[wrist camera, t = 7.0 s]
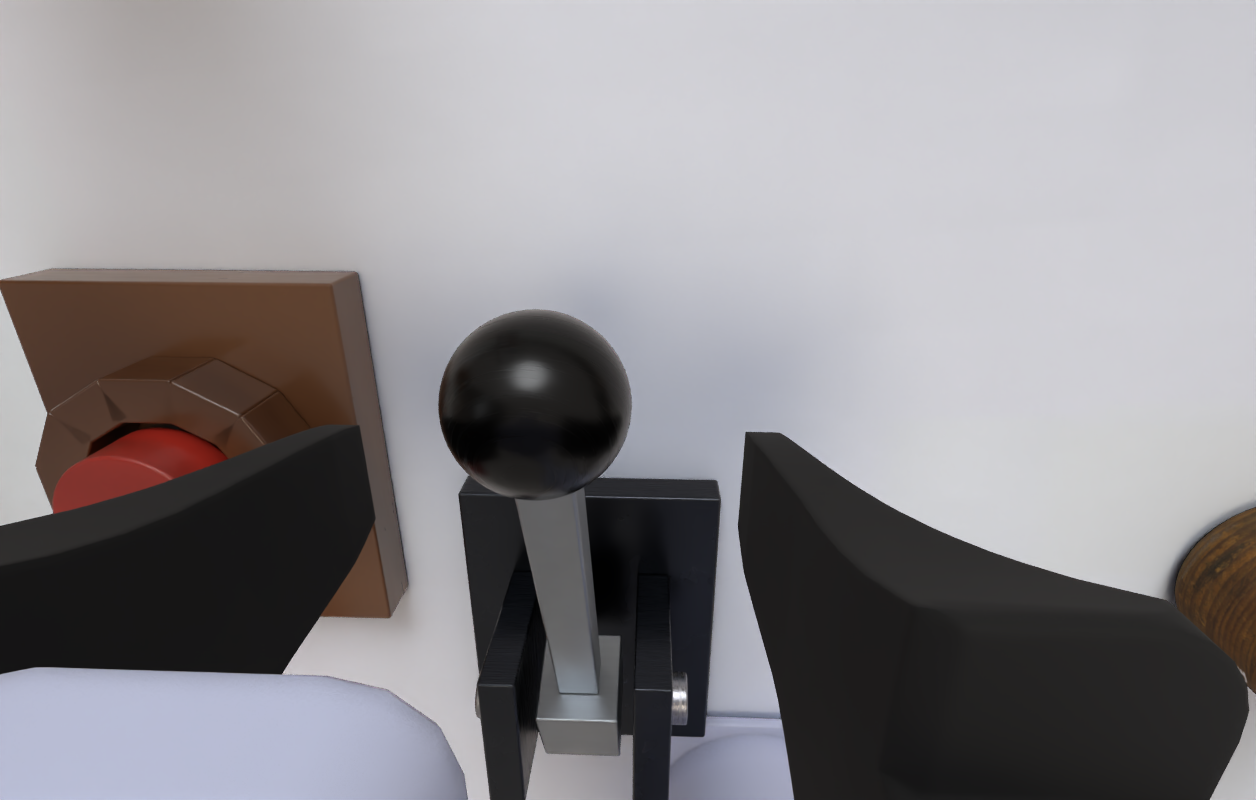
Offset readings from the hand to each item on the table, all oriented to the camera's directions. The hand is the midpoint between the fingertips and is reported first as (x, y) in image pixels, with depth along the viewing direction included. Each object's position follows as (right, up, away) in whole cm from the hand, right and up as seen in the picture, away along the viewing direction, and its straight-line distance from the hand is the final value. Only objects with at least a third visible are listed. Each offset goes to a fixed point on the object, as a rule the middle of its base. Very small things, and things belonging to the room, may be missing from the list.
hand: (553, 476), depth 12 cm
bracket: (0, -6, +10) cm, 12 cm away
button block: (-11, 0, +8) cm, 14 cm away
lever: (0, -2, +3) cm, 4 cm away
